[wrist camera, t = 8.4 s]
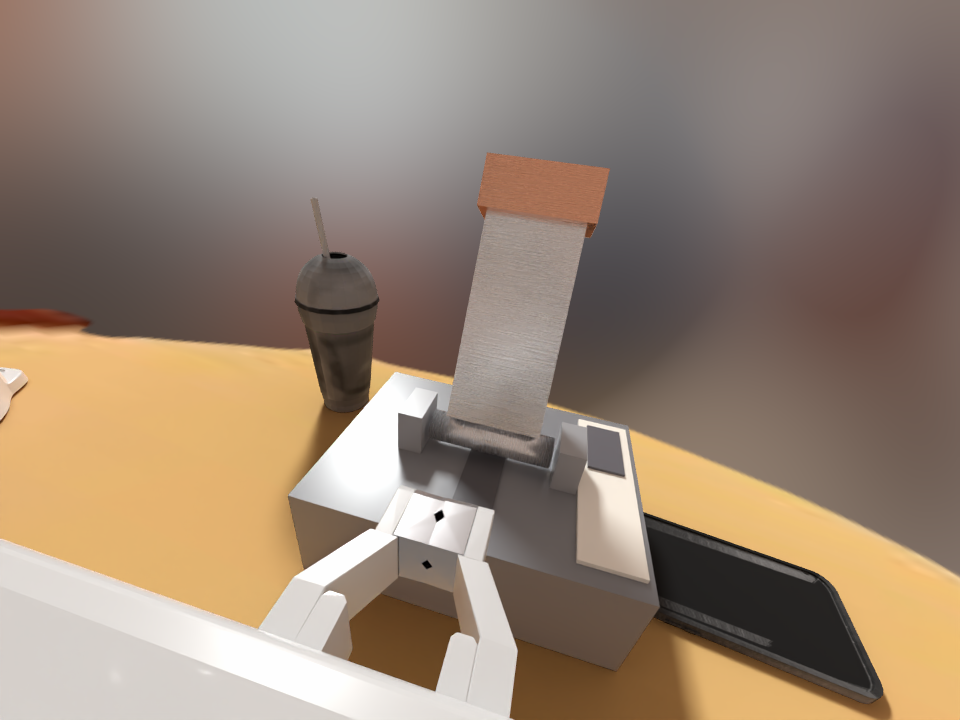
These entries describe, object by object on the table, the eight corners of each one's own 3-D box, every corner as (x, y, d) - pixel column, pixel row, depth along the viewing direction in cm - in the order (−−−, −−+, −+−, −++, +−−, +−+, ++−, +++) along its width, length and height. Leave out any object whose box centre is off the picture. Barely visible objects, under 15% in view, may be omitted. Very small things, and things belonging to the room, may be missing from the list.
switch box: (303, 568, 24) (279, 456, 19) (395, 432, 36) (395, 341, 31) (616, 671, 21) (684, 570, 16) (603, 486, 33) (640, 395, 28)
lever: (423, 444, 24) (478, 151, 22) (437, 431, 27) (487, 174, 25) (548, 477, 22) (619, 169, 20) (547, 459, 25) (609, 191, 23)
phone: (619, 503, 31) (830, 576, 27) (615, 512, 31) (821, 585, 28) (616, 596, 24) (894, 709, 20) (611, 605, 25) (880, 716, 21)
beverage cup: (390, 411, 39) (388, 208, 29) (316, 428, 35) (283, 205, 25) (371, 375, 44) (363, 193, 34) (304, 387, 41) (274, 189, 31)
